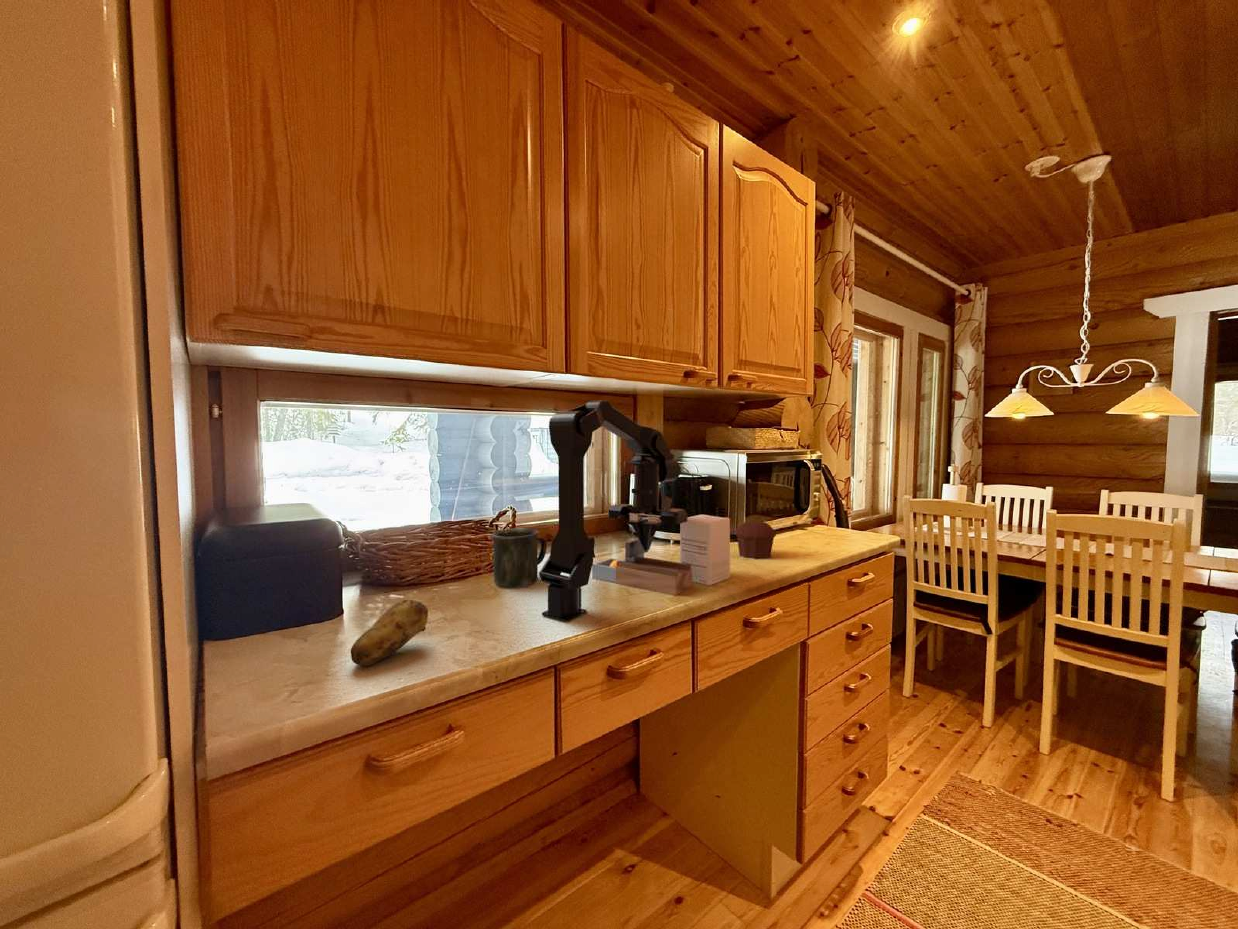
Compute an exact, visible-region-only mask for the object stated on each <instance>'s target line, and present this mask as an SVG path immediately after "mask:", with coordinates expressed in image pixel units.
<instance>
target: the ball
mask: <svg viewBox="0 0 1238 929" xmlns="http://www.w3.org/2000/svg"><path fill="white" fill-rule="evenodd" d="M620 560H621V559H619V560H615V561H613V562H612V563H611V564H610V567H614V568H616V566H617V561H620Z"/></svg>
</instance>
